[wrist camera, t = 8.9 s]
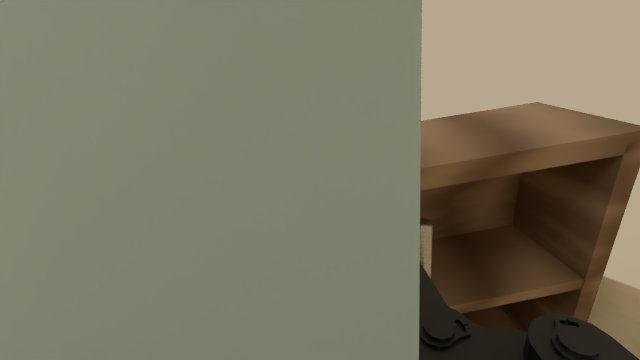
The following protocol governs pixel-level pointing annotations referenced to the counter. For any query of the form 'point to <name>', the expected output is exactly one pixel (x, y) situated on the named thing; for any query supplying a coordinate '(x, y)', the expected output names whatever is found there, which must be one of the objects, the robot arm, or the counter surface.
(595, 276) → the walnut cabinet
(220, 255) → the sage green block
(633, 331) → the counter surface
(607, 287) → the counter surface
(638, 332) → the counter surface
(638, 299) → the counter surface
